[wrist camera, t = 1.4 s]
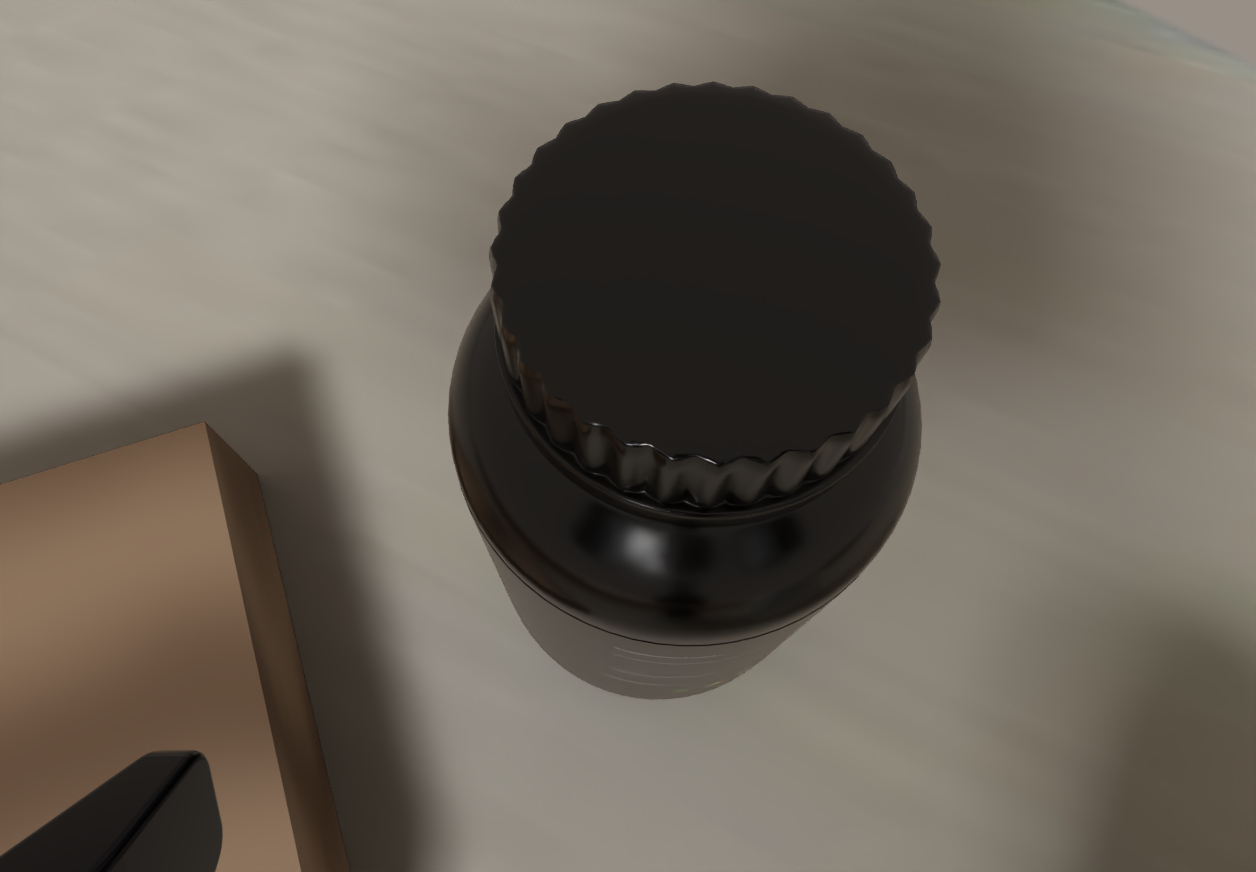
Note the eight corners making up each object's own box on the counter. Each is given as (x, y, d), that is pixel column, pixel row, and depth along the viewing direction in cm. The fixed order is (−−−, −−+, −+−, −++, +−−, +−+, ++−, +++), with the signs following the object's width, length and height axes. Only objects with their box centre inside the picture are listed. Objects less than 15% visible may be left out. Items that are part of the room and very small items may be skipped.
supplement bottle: (470, 462, 21) (328, 72, 10) (737, 385, 22) (878, -46, 11) (551, 753, 18) (485, 665, 7) (849, 651, 19) (1178, 439, 8)
